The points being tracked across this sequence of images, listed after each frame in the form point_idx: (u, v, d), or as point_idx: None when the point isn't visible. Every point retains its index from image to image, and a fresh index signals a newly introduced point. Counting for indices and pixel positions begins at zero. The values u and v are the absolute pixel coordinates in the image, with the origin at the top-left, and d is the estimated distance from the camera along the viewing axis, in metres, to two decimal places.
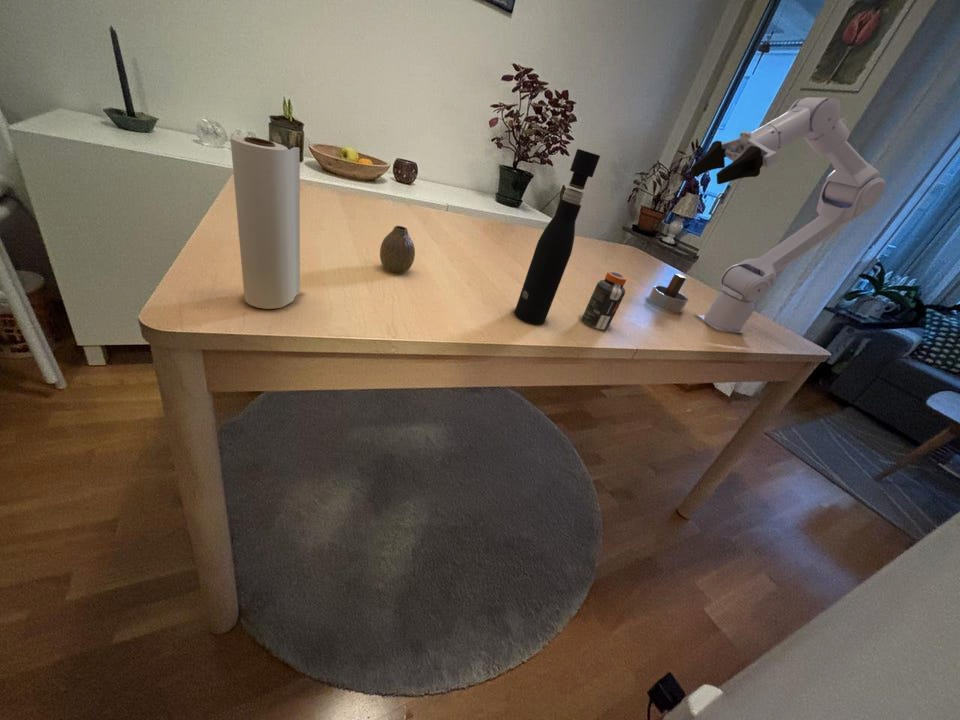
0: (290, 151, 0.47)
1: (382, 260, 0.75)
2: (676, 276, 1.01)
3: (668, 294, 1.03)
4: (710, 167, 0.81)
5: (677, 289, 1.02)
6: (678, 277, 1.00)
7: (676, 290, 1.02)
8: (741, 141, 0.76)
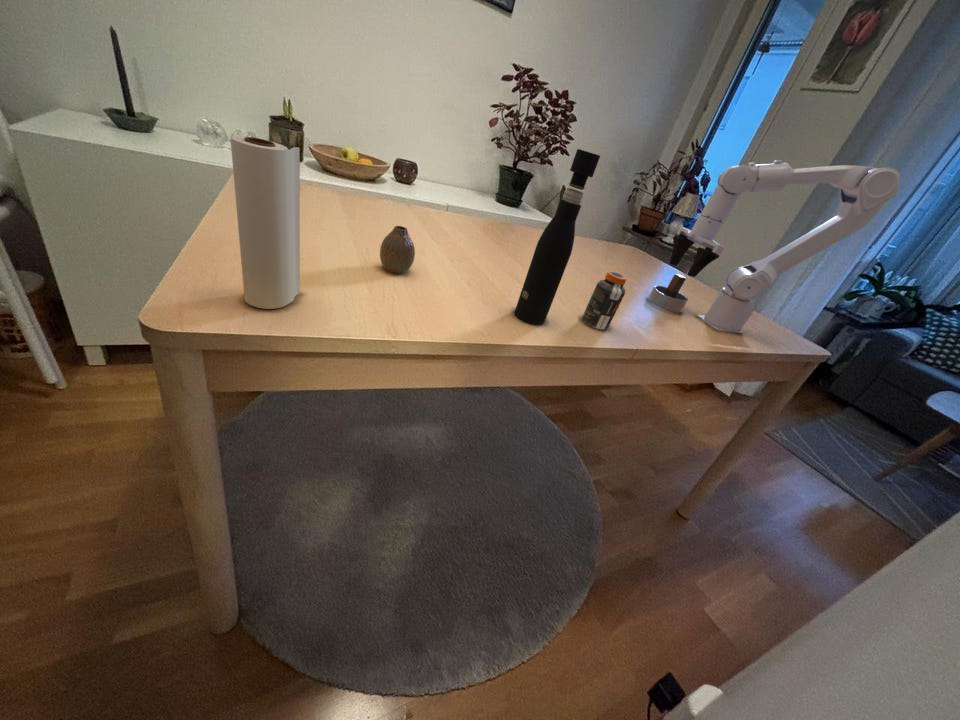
0: (290, 151, 0.47)
1: (382, 260, 0.75)
2: (676, 276, 1.01)
3: (668, 294, 1.03)
4: (684, 251, 1.01)
5: (677, 289, 1.02)
6: (678, 277, 1.00)
7: (676, 290, 1.02)
8: (691, 236, 0.95)
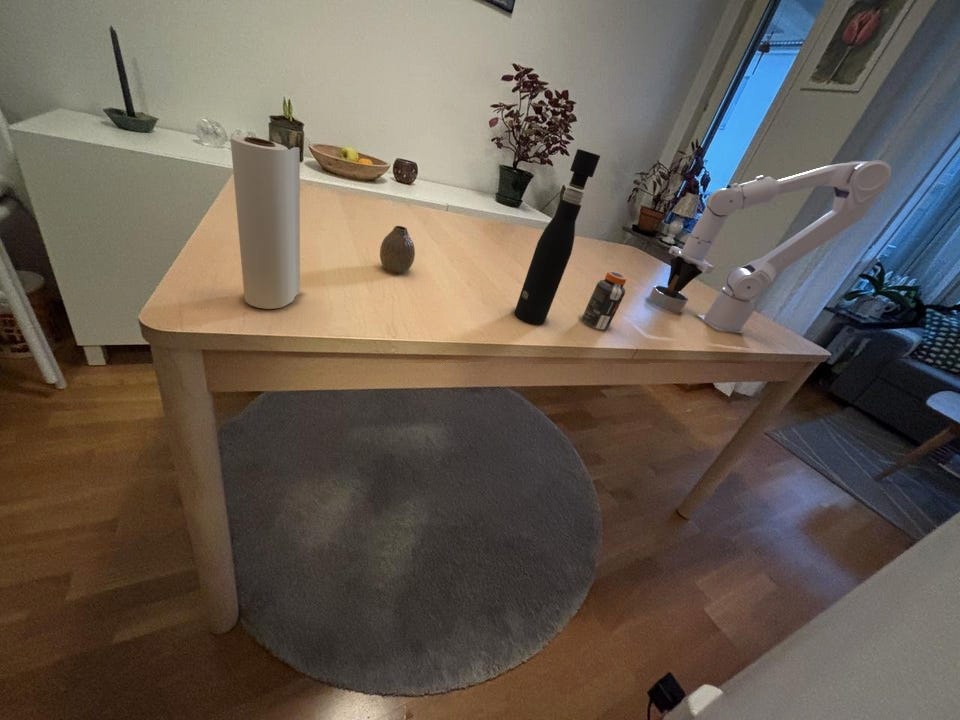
0: (290, 151, 0.47)
1: (382, 260, 0.75)
2: (676, 276, 1.01)
3: (668, 294, 1.03)
4: None
5: None
6: (678, 277, 1.00)
7: None
8: None
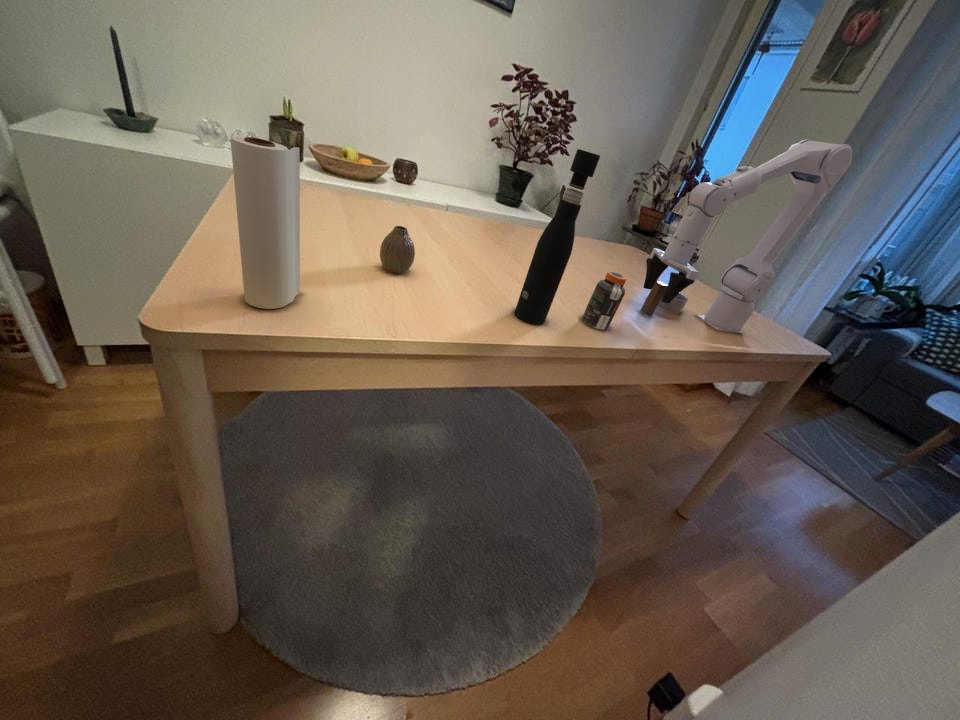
0: (290, 151, 0.47)
1: (382, 260, 0.75)
2: (657, 284, 0.91)
3: (649, 303, 0.93)
4: (658, 274, 0.94)
5: (658, 298, 0.92)
6: (659, 285, 0.90)
7: (658, 299, 0.92)
8: None
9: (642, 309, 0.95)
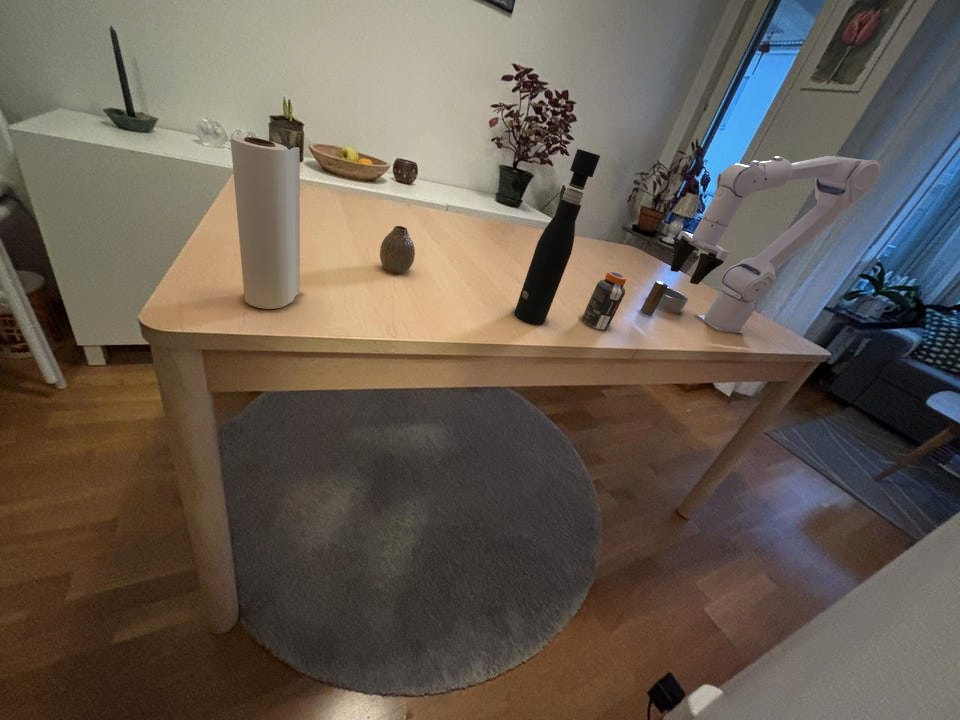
0: (290, 151, 0.47)
1: (382, 260, 0.75)
2: (657, 284, 0.91)
3: (649, 303, 0.93)
4: (685, 257, 0.95)
5: (658, 298, 0.92)
6: (659, 285, 0.90)
7: (658, 299, 0.92)
8: None
9: (642, 309, 0.95)
